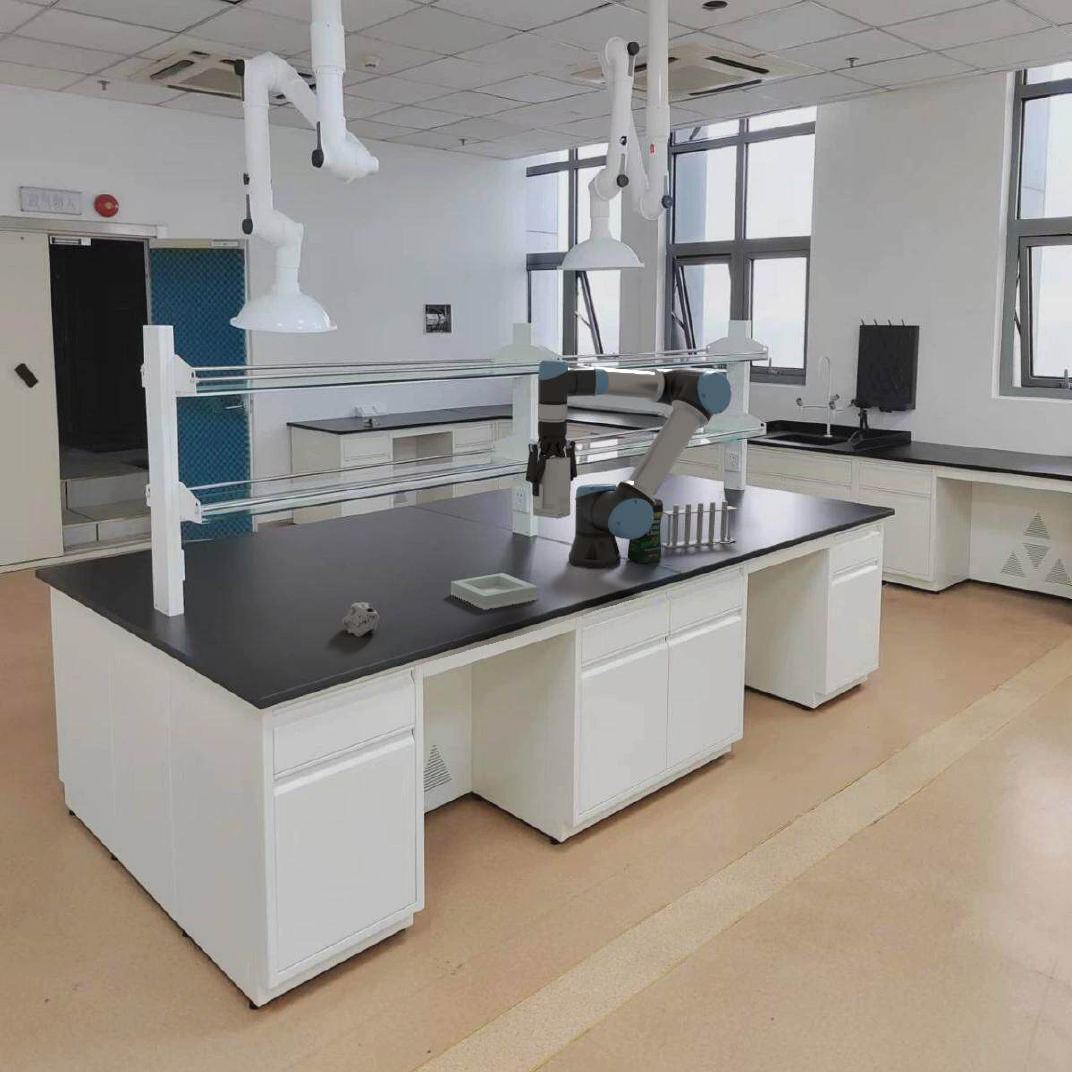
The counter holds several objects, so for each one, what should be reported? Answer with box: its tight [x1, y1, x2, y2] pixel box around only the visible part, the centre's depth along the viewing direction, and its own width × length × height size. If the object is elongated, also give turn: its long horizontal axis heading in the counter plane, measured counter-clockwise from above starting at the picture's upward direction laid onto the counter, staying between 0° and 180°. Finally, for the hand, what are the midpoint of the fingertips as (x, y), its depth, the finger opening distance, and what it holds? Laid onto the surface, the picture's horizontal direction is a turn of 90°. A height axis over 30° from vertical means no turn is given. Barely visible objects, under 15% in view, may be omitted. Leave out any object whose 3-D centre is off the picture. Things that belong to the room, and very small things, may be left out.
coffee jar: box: [627, 497, 664, 564], centre depth 301 cm, size 10×8×19 cm
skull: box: [341, 601, 380, 638], centre depth 234 cm, size 8×9×12 cm
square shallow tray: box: [450, 572, 539, 610], centre depth 264 cm, size 16×16×4 cm
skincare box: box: [532, 456, 571, 520], centre depth 272 cm, size 8×7×16 cm
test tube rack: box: [661, 500, 739, 549], centre depth 324 cm, size 25×4×13 cm, turn 113°
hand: (551, 506), depth 273 cm, fingers closed on skincare box, 8 cm apart
